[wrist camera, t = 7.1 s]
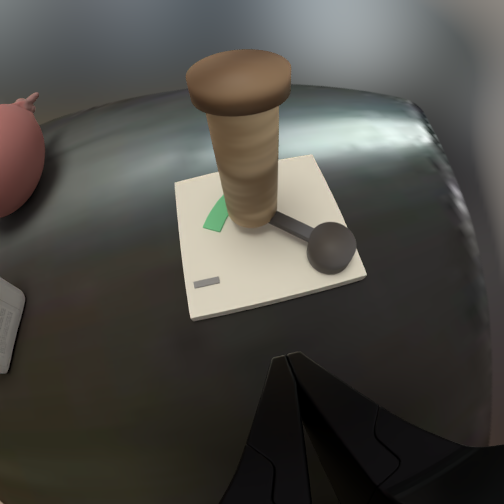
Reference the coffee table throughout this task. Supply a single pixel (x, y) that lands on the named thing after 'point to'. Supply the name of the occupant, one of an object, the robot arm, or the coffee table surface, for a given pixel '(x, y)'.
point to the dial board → (254, 244)
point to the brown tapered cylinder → (257, 146)
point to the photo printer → (9, 320)
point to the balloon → (19, 153)
